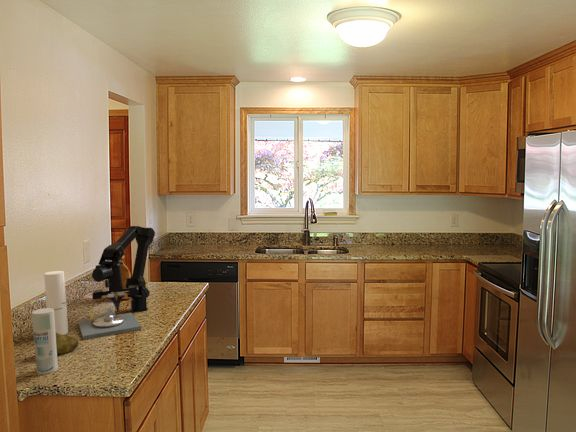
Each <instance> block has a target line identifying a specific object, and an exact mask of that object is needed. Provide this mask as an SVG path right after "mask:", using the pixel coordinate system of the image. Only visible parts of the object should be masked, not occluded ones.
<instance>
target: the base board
mask: <svg viewBox="0 0 576 432" xmlns="http://www.w3.org/2000/svg"><path fill="white" fill-rule="evenodd" d="M115 316H121V317H123V318H124V322H123V323H121V324H119V325H116V326H111V327H96V326H94V325H93V322H94V321H95V320H96V319H99V318H102V317H103V316H102V317H95V312H94V311H89V319H82V320H78V321H77V322H78V327H79V331H80V334H81V337H82V340H83V341H85V340H90V339H94V338H95V339H96V338H100V337H101V338H102V337H107V336H112V335H118V334H124V333H130V332H136V331H141V330H142V326H141V324H140V323H139V321H138V320H137V318H136V317H135V316H134V314H133V313H132V312H126V313H120V314H115Z"/></svg>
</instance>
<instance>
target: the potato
mask: <svg viewBox="0 0 576 432" xmlns="http://www.w3.org/2000/svg"><path fill="white" fill-rule="evenodd" d="M55 333H56V332H55ZM78 346H79V339H77V338H76V337H75V336H72V335H67V334H64V335H63V334H59V333H56V348H57V355H61V354H67V353H70V352H72V351H74V350H75V349H77V348H78Z"/></svg>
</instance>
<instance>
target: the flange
mask: <svg viewBox="0 0 576 432" xmlns="http://www.w3.org/2000/svg"><path fill="white" fill-rule="evenodd" d="M105 310H106V314H103V316H102V318H101V317H98V318H99V319H96V320H95V321H94V322H93V325H94V326H96V327H111V326H116V325H119V324H121V323H123V322H124V318H123V317H121V316H115V315H116V307H115V305H114V304H113V305H107V306H106V307H105Z"/></svg>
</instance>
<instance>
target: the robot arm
mask: <svg viewBox="0 0 576 432" xmlns="http://www.w3.org/2000/svg"><path fill="white" fill-rule="evenodd" d="M155 236H156V231H155V230H154V228H152V227H143V226H140V225H130V226H128V228H127V230H126V231H125V232H124V233H123V234H122V235H121V236H120V238H118V239H117V240H116V242H114V243H112V244H109V245H108V246H106V247H105V248H104V249H103V251H102V254H101V256H100V259H99V262H98V265H95V268H94V269H93V271H92V274H91V276H92V277H91V278H92V279H93V281H95V282H97V283H100V282H103V281H104V287H105V288H107V289H108V290H104V291H103V289H102V288H101V289H94V290H93V291H92V294H91V295H92V300H94V301H95V300H99V299H102V297H105V296H107V299H108V300H110V301H111V302H112V303H113V305H115V310H116V312H119V311H120V310H119V309H120V306H121V305H120V304H121V302H122V300H121V299H122V298H123V297H125V296H124V294H125V293H127V295H128V297H131V298H130V299H131V300H129V303H130V310H131V311H132V312H133V313H137V312H143V311H148V310H149V309H148V308H147V307H148V305H147V298H149V297H150V293H151V292H150V290H149V289H148V288H147V285H146V280H145V278H144V275H145V269H146V264H147V263H146V262H147V258H148V253H149V248H150V245H152V243H153V242H154V239H155ZM134 240H135V241H136V244H137V248H136V253H135V259H134V264H133V271H132V273H131V274H132V275H131V277H130V278H127V283H126V286H125V287H126V289H123V285H122V278H121V268H120V264H123V262H124V261H123V262H122V261H121V258H122V257H123V255H124V256H125V250H126V249H127V248H128V247H129V246H130V244H131V243H132V242H133V241H134ZM115 294H117V300H116V295H115Z"/></svg>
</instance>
